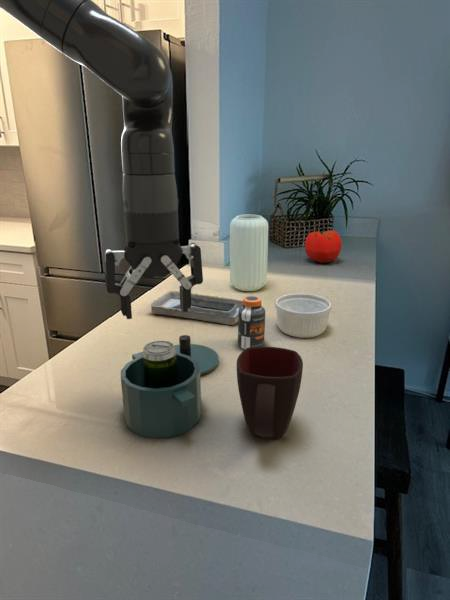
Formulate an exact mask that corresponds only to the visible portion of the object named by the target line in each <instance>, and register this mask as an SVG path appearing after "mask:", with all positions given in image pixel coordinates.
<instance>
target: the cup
mask: <svg viewBox="0 0 450 600" xmlns="http://www.w3.org/2000/svg"><path fill="white" fill-rule="evenodd" d="M303 368H304V362H303V358H302V357H301V355H300V354H299V353H298V351H296V350H292V349H289V348H284V347H279V346H278V347H277V346H263V347H250V348H246V349H243V350H242V352H241V353H239V355H238V357H237V359H236V380H237V388H238V395H239V399H240V405H241V409H242V413H243V418H244V420H245V424H246V427H247V429H248V432H249V434H250V435H251V436H253V437H256V438H259V439H265V440H278V439H282V438H283V437H284V436H285V434H286V432H287V431H288V428H289V426H290V424H291V420H292V418H293V415H294V412H295V410H296V409H295V408H296V405H297V402H298V397H299V393H300V389H301V384H302V378H303V370H304V369H303Z"/></svg>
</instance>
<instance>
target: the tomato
mask: <svg viewBox="0 0 450 600" xmlns="http://www.w3.org/2000/svg"><path fill="white" fill-rule="evenodd" d="M304 250H305V253H306V256H307V257H308V258H309V259H310V260H311V261H312V262H317V263H318V264H319V263H320V264H326V263H331V262H333V261H336V260H337V259H338V257H339V256H340V253H341V251H342V238H341V236H340V234H339V232H337V231H336V230H331V229H330V230H326V231H325V230H324V231H322V233H321V232H320V231H318V230H317V231H311V232H309V234H308V235H307V236H306V237H305V241H304Z"/></svg>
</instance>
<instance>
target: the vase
mask: <svg viewBox="0 0 450 600" xmlns="http://www.w3.org/2000/svg"><path fill="white" fill-rule="evenodd" d="M268 250H269V222H268V220H267V219H266V218H265V217H263V216H262V215H260V214H251V213H249V214H248V213H247V214H239V215H236V216H235V217H234V218H232V220H231V221H230V223H229V281H230V284H231V285H232V286H233V287H234V288H235V289H237V290H239V291H242V292H256V291H258V290H261V288H263V287H265V285H266V284H267V282H268V281H267V280H268V257H269V255H268V253H269V252H268Z"/></svg>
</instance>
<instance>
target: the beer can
mask: <svg viewBox="0 0 450 600" xmlns="http://www.w3.org/2000/svg"><path fill="white" fill-rule="evenodd" d="M174 345H175V344H174V343H173V342H171V341H168V340H154V341H150V342H148V343H146V344H145V345H144V346H143V347H142V350H143V351H142V352H143V353H142V359H143V372H144V384H145V388H155V389H157V388H165V387H172V386H175V385H178V380H177V360H176V350H175V349H174Z"/></svg>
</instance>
